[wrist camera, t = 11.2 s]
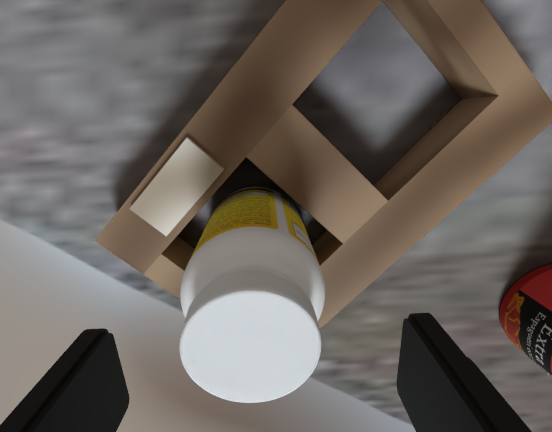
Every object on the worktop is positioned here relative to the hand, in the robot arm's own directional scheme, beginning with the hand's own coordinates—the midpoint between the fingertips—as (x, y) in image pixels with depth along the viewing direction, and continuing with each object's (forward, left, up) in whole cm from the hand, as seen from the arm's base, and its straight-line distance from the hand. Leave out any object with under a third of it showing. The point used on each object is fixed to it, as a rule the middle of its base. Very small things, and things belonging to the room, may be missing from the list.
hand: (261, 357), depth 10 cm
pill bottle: (0, 0, -11) cm, 11 cm away
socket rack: (0, -5, -11) cm, 12 cm away
